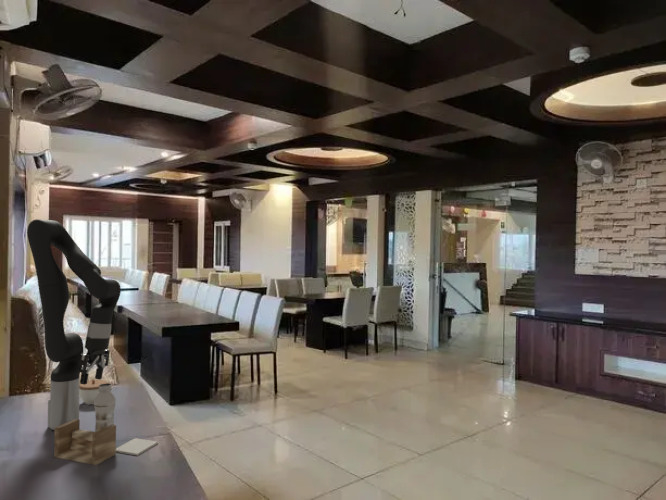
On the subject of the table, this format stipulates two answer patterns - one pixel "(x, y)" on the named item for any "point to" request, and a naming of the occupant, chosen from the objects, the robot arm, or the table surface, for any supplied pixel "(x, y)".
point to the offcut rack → (84, 443)
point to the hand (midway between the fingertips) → (90, 381)
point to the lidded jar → (90, 390)
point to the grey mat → (136, 446)
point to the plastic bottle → (104, 407)
